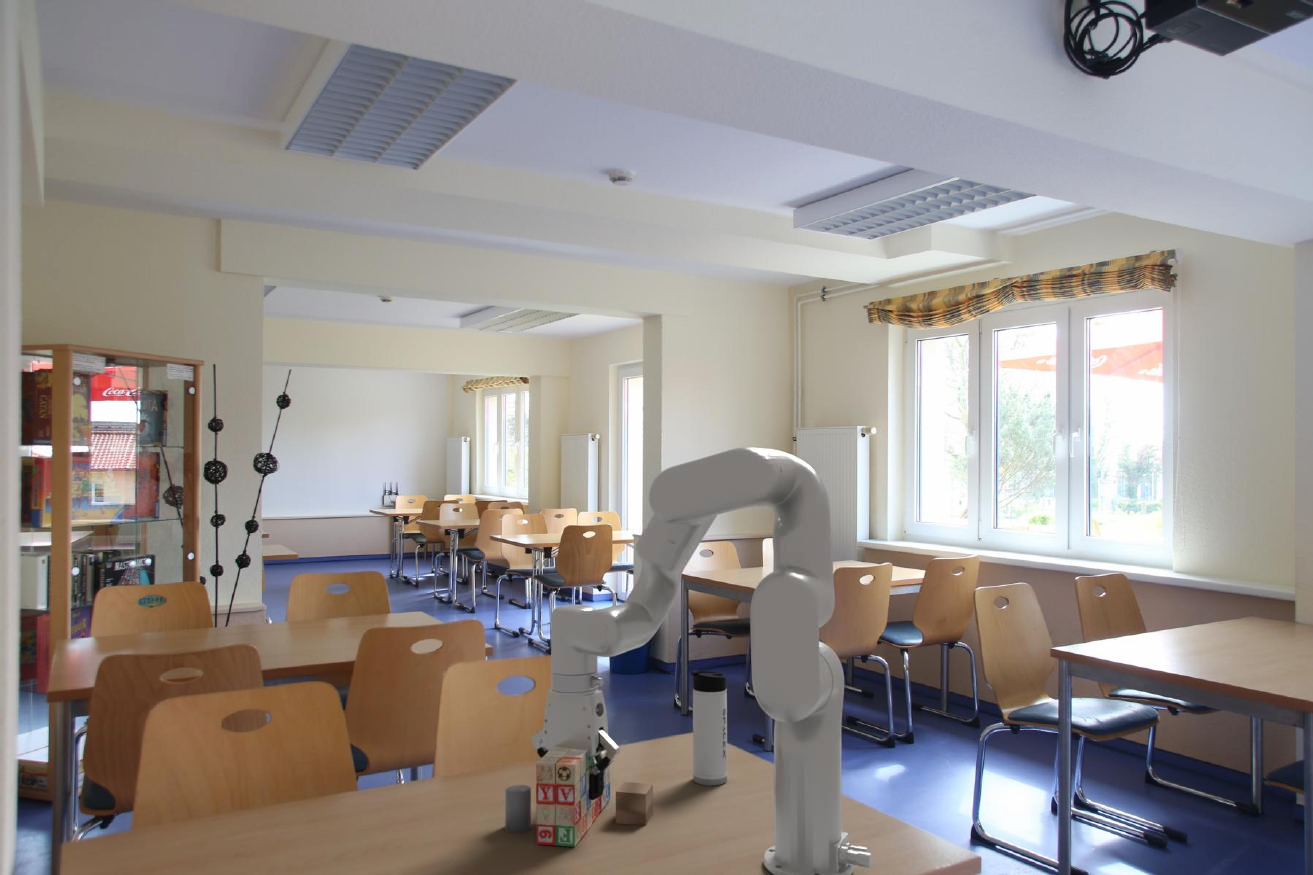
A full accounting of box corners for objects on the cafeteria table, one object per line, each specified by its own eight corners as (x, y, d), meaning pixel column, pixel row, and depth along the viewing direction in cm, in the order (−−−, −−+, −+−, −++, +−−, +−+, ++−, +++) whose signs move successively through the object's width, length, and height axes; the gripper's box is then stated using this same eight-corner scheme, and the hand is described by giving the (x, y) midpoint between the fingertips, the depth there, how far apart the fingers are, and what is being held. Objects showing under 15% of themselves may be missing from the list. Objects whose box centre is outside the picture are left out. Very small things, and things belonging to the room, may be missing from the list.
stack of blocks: (576, 797, 155) (575, 725, 156) (611, 799, 154) (610, 726, 155) (535, 844, 134) (535, 761, 135) (575, 847, 133) (575, 763, 134)
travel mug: (686, 777, 166) (686, 668, 168) (719, 773, 168) (719, 666, 170) (698, 787, 161) (697, 674, 162) (732, 783, 163) (731, 672, 164)
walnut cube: (652, 814, 147) (652, 783, 148) (645, 825, 143) (645, 793, 143) (623, 812, 149) (623, 781, 149) (615, 823, 144) (615, 791, 144)
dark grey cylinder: (535, 825, 142) (535, 787, 143) (520, 834, 139) (521, 794, 139) (515, 821, 144) (515, 783, 145) (499, 829, 141) (500, 790, 141)
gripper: (632, 682, 145) (633, 794, 143) (543, 673, 153) (543, 779, 151) (608, 691, 138) (609, 809, 137) (516, 681, 146) (516, 792, 145)
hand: (574, 792), depth 144 cm, fingers closed on stack of blocks, 7 cm apart
